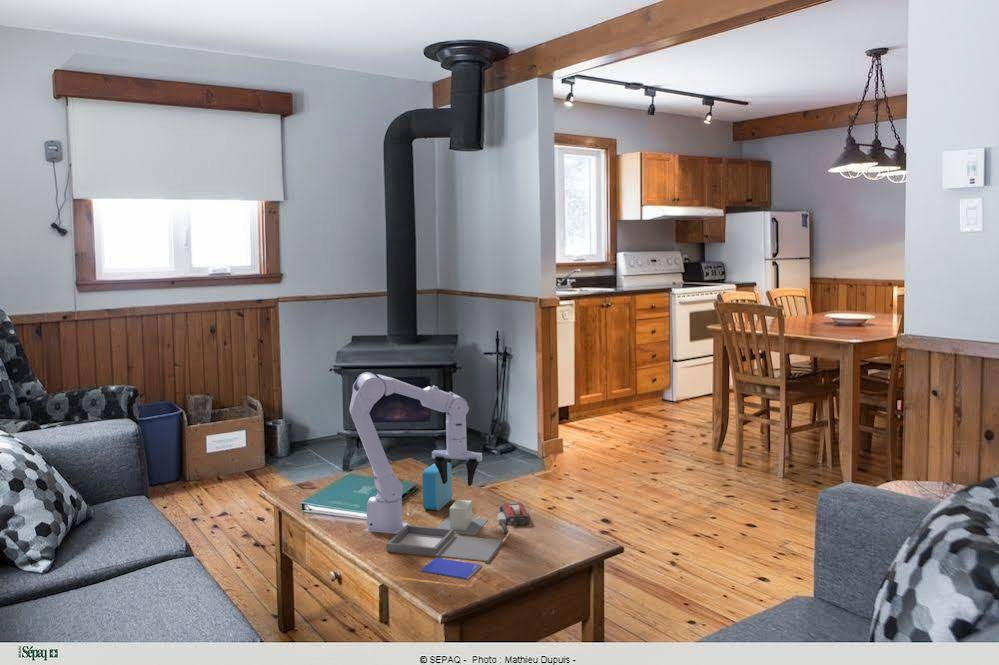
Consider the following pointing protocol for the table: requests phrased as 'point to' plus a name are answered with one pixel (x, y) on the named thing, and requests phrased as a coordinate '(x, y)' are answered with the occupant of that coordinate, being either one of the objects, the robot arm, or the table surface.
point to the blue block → (436, 488)
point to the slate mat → (471, 530)
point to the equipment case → (442, 544)
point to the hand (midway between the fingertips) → (457, 483)
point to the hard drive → (451, 568)
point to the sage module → (461, 514)
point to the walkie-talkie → (512, 515)
